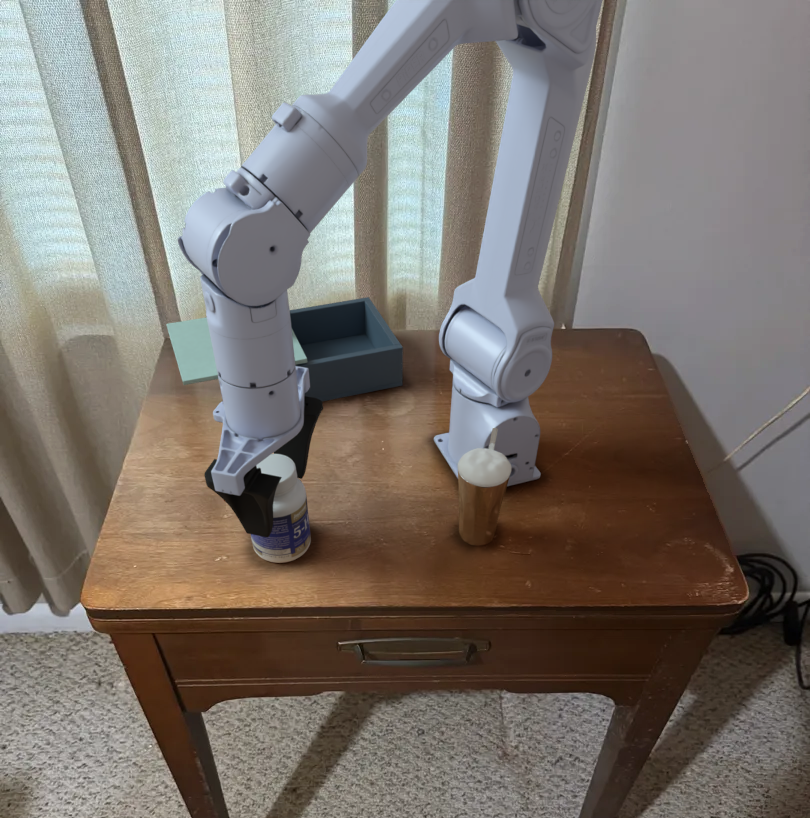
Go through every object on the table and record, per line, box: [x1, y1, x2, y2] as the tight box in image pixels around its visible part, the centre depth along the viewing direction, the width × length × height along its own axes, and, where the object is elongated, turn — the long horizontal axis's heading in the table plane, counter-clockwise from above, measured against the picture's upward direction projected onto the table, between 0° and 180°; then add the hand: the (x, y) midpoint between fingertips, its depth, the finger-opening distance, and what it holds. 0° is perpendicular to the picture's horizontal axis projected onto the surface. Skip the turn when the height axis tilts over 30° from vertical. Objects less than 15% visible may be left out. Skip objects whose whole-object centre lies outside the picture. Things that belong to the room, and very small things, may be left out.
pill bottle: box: [250, 453, 312, 564], centre depth 66 cm, size 5×5×9 cm
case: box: [290, 296, 404, 402], centre depth 87 cm, size 12×13×5 cm
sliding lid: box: [165, 317, 307, 386], centre depth 81 cm, size 12×13×5 cm
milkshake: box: [457, 428, 511, 547], centre depth 67 cm, size 4×5×10 cm
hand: (276, 502), depth 65 cm, fingers open, 7 cm apart
